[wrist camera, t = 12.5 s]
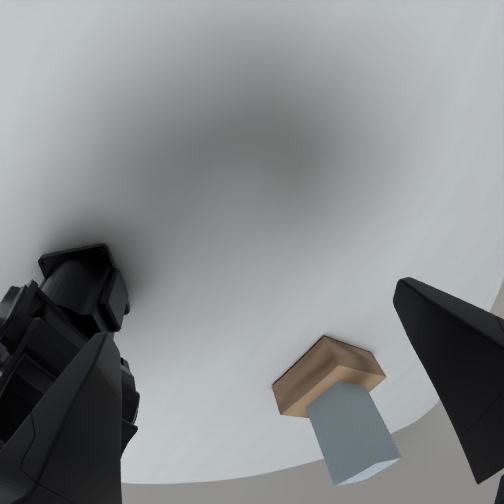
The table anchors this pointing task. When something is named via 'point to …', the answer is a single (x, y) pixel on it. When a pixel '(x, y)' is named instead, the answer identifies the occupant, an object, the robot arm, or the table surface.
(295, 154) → the table surface
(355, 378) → the tan flat square block
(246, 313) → the table surface
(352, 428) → the slate block
